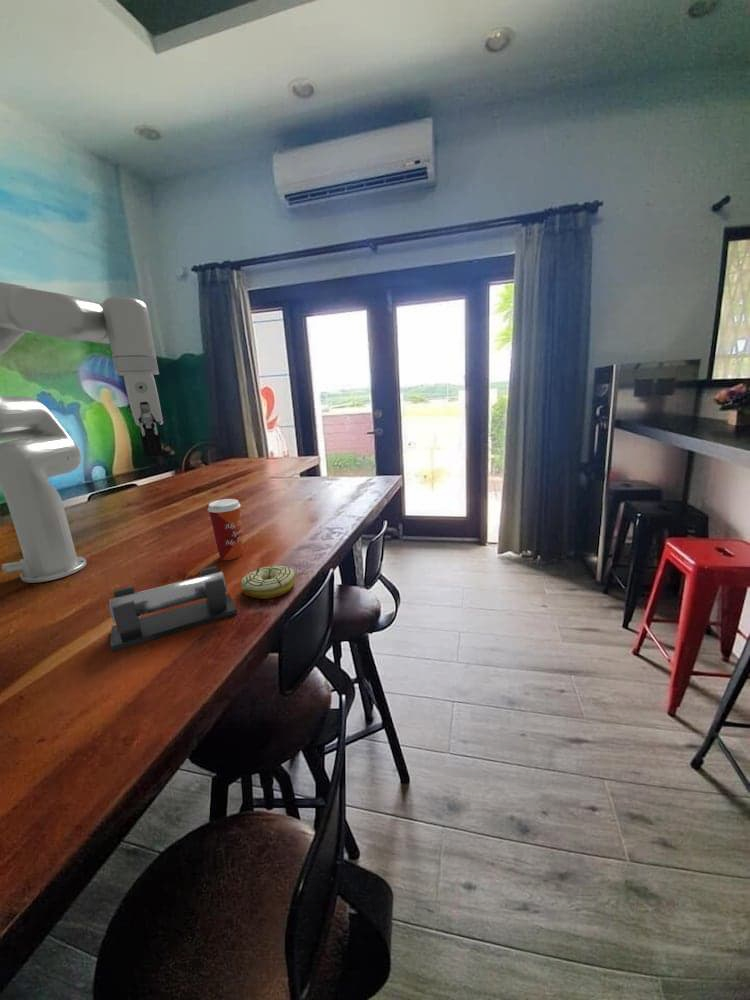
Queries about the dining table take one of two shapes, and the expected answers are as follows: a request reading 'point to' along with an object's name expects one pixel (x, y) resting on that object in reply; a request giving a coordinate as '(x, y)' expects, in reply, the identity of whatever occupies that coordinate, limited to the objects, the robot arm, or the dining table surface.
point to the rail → (167, 595)
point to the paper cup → (227, 527)
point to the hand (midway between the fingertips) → (153, 453)
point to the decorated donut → (268, 582)
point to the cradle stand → (169, 615)
